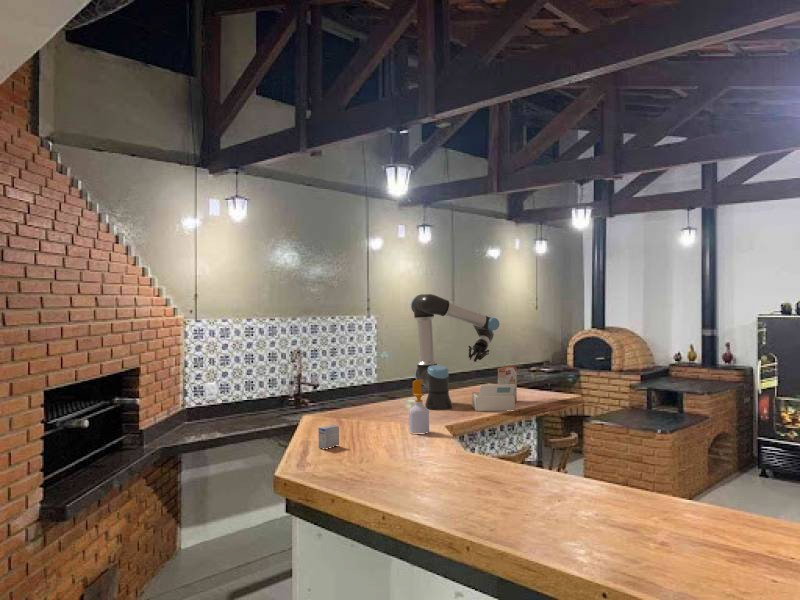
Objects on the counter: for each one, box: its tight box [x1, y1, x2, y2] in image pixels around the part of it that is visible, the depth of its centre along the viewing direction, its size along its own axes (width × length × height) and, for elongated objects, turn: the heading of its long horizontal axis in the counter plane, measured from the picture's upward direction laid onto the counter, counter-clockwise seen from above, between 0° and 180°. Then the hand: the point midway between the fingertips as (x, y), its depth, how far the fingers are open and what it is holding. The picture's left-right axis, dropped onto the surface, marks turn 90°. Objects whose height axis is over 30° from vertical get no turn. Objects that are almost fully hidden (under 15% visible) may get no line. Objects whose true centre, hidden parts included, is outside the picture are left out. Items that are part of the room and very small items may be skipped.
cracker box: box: [497, 365, 518, 402], centre depth 342 cm, size 14×6×21 cm, turn 143°
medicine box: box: [317, 424, 340, 449], centre depth 242 cm, size 8×4×9 cm, turn 141°
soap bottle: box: [408, 379, 430, 433], centre depth 266 cm, size 9×9×25 cm
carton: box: [471, 391, 516, 412], centre depth 323 cm, size 21×17×8 cm
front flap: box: [479, 384, 515, 397], centre depth 311 cm, size 18×10×1 cm
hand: (471, 362), depth 329 cm, fingers closed
